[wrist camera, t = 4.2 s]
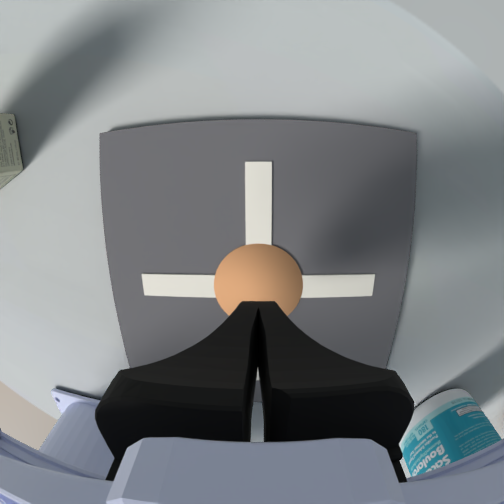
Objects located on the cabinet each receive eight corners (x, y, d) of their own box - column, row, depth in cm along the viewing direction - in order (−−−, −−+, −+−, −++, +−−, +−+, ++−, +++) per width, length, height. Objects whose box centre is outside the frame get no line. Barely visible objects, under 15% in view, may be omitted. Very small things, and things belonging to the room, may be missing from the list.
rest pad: (375, 388, 17) (378, 394, 17) (140, 387, 18) (136, 393, 17) (411, 134, 13) (417, 133, 12) (105, 134, 13) (98, 133, 13)
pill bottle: (402, 400, 18) (469, 545, 5) (476, 372, 17) (556, 480, 4) (388, 452, 20) (426, 569, 7) (454, 428, 19) (506, 525, 6)
